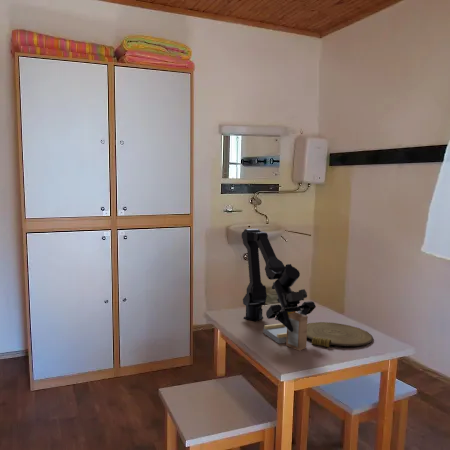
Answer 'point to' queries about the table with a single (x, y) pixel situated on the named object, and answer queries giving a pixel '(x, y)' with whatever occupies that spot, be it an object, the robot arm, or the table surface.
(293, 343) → the wooden box
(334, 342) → the decorative disc
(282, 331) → the rail board
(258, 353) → the table surface
